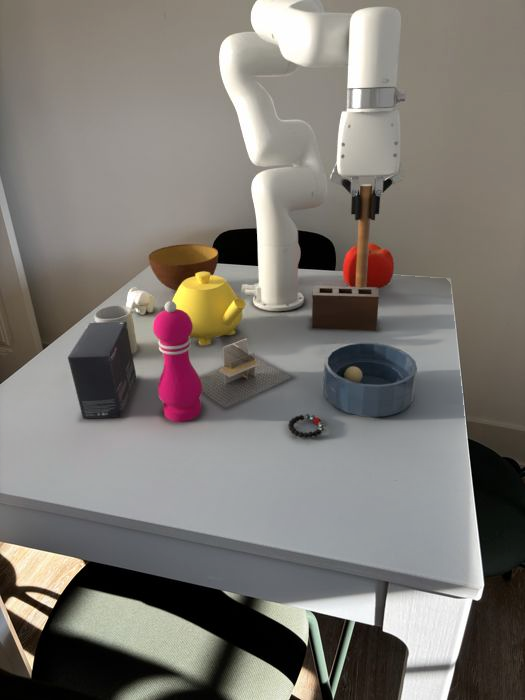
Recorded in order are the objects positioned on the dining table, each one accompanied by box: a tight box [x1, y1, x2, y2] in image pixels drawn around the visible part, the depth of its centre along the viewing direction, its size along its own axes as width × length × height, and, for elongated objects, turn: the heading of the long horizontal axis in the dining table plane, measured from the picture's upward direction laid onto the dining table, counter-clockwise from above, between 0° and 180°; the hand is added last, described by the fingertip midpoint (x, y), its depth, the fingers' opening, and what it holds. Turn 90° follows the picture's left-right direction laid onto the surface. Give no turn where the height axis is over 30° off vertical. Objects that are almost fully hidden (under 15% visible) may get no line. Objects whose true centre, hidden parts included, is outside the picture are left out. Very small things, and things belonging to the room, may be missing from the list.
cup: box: [85, 304, 138, 356], centre depth 105 cm, size 7×10×9 cm
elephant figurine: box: [125, 286, 156, 316], centre depth 124 cm, size 7×8×6 cm
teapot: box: [172, 271, 246, 346], centre depth 110 cm, size 20×16×14 cm
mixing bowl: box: [323, 341, 418, 418], centre depth 89 cm, size 15×15×6 cm
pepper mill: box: [152, 300, 203, 423], centre depth 83 cm, size 7×7×20 cm
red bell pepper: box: [342, 242, 395, 290], centre depth 135 cm, size 14×13×10 cm
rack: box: [311, 285, 380, 332], centre depth 115 cm, size 6×14×8 cm, turn 82°
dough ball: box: [344, 366, 363, 383], centre depth 92 cm, size 3×3×3 cm
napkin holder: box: [218, 337, 260, 384], centre depth 94 cm, size 3×7×8 cm, turn 129°
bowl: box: [148, 243, 219, 293], centre depth 136 cm, size 18×18×10 cm
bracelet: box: [287, 413, 325, 439], centre depth 82 cm, size 6×6×1 cm
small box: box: [67, 321, 137, 419], centre depth 90 cm, size 13×7×12 cm, turn 1°
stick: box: [355, 183, 373, 288], centre depth 92 cm, size 2×2×18 cm
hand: (364, 217), depth 90 cm, fingers closed on stick, 2 cm apart
